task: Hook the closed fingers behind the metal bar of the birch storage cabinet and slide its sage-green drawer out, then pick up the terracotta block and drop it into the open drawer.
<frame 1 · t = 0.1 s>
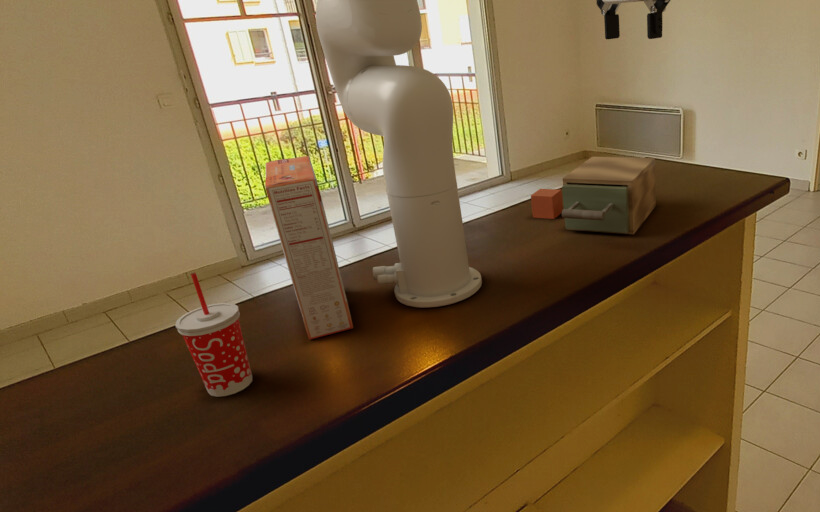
hand: (633, 38, 106), 31 cm above the worktop, tool pointing down, fingers open, 9 cm apart
cracker box: (326, 315, 85), on the worktop
block: (548, 214, 118), on the worktop
cabinet: (612, 217, 114), on the worktop
drawer: (602, 202, 108), point 5 cm above the worktop, slide at 0.5 cm
beverage cup: (231, 386, 70), on the worktop
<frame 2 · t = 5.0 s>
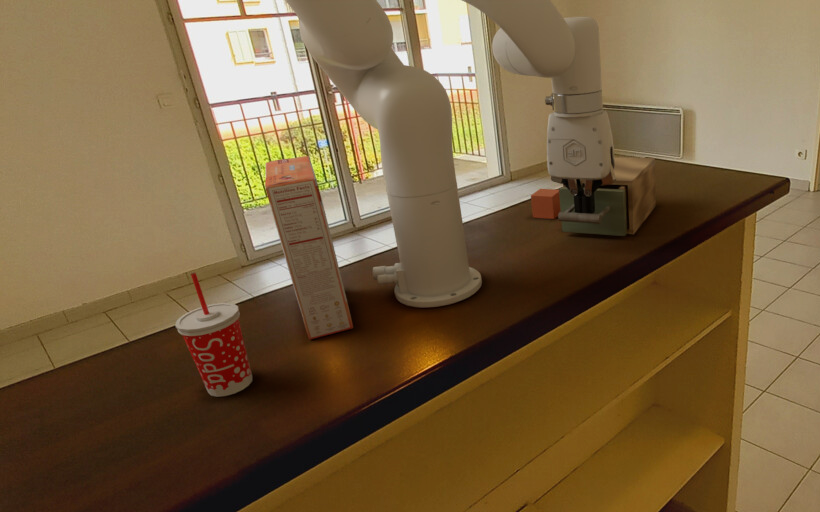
hand: (585, 216, 100), 5 cm above the worktop, tool pointing down, fingers closed
drawer: (599, 204, 107), point 5 cm above the worktop, slide at 2.1 cm
everything else where it was.
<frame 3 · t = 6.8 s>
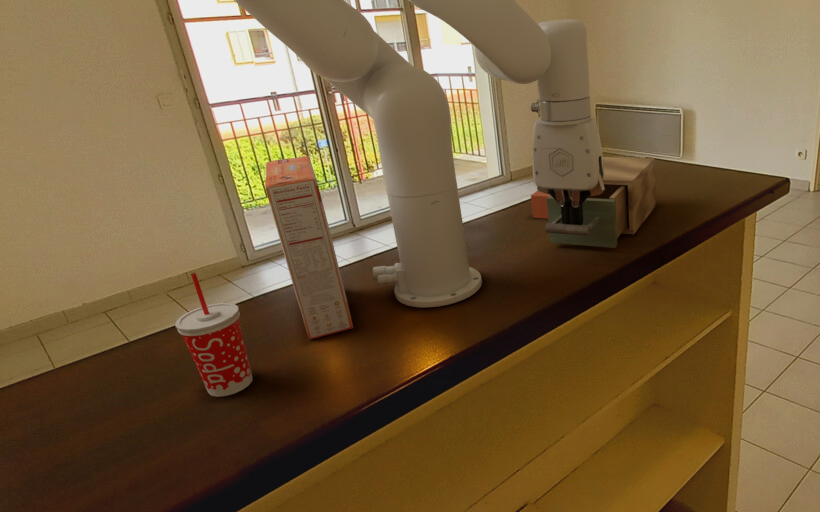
hand: (573, 228, 96), 5 cm above the worktop, tool pointing down, fingers closed
drawer: (589, 214, 102), point 5 cm above the worktop, slide at 7.4 cm, touching gripper
everything else where it was.
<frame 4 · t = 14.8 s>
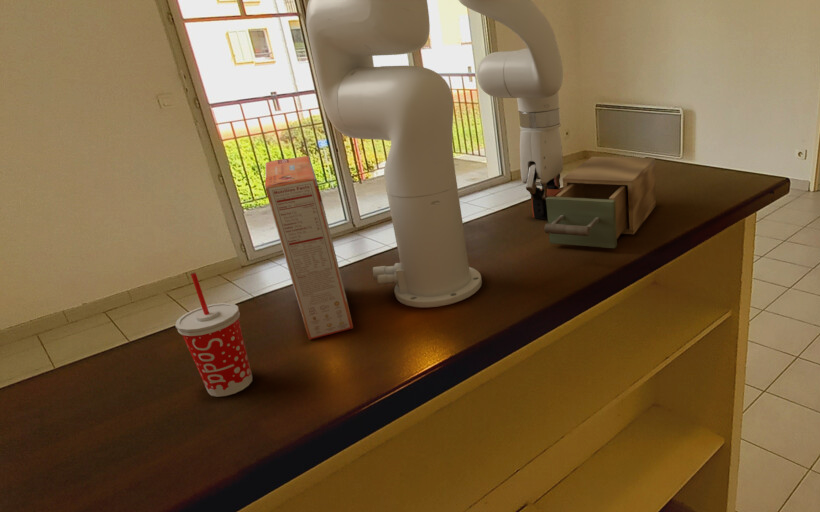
hand: (547, 212, 118), 0 cm above the worktop, tool pointing down, fingers closed on block, 4 cm apart
block: (548, 214, 118), on the worktop, touching gripper
drawer: (588, 215, 102), point 5 cm above the worktop, slide at 7.6 cm
everything else where it was.
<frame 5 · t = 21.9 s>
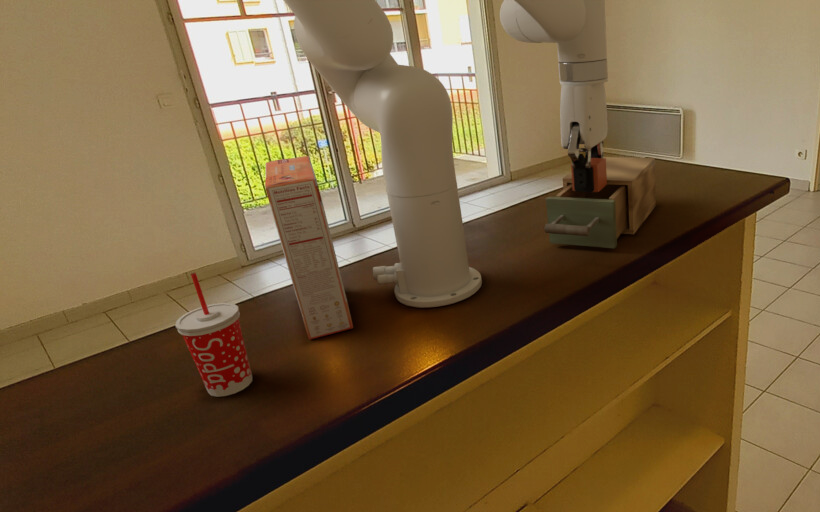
hand: (589, 185, 101), 10 cm above the worktop, tool pointing down, fingers closed on block, 4 cm apart
block: (590, 187, 101), point 9 cm above the worktop, touching gripper
everything else where it was.
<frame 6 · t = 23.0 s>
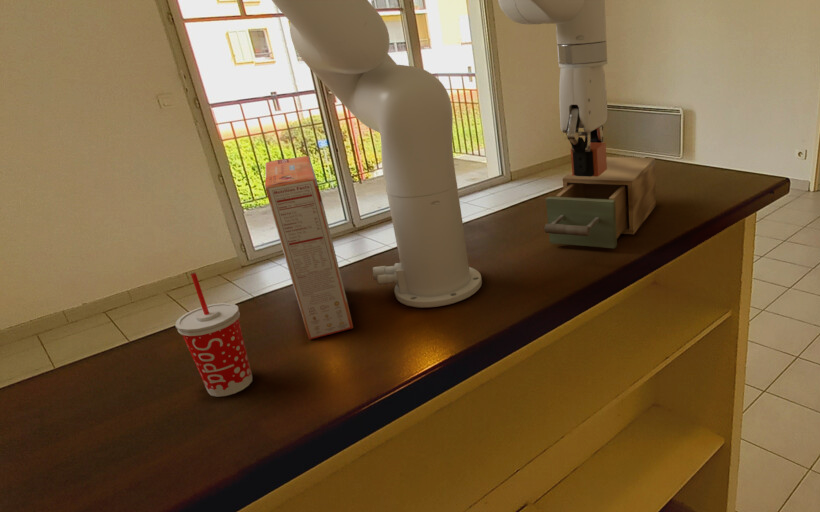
hand: (589, 170, 100), 12 cm above the worktop, tool pointing down, fingers closed on block, 4 cm apart
block: (589, 172, 100), point 12 cm above the worktop, touching gripper
everything else where it was.
when the fingers open (12 cm above the worktop, at t = 31.3 s): block drops 10 cm, resting on drawer.
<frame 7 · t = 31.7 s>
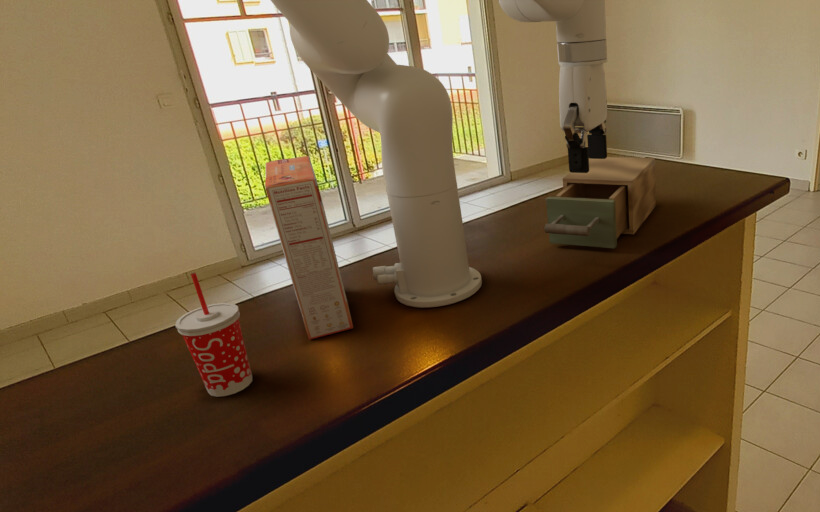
hand: (588, 164, 100), 13 cm above the worktop, tool pointing down, fingers open, 8 cm apart
block: (592, 227, 104), point 2 cm above the worktop, touching drawer
drawer: (588, 215, 102), point 5 cm above the worktop, slide at 7.6 cm, touching block
everything else where it was.
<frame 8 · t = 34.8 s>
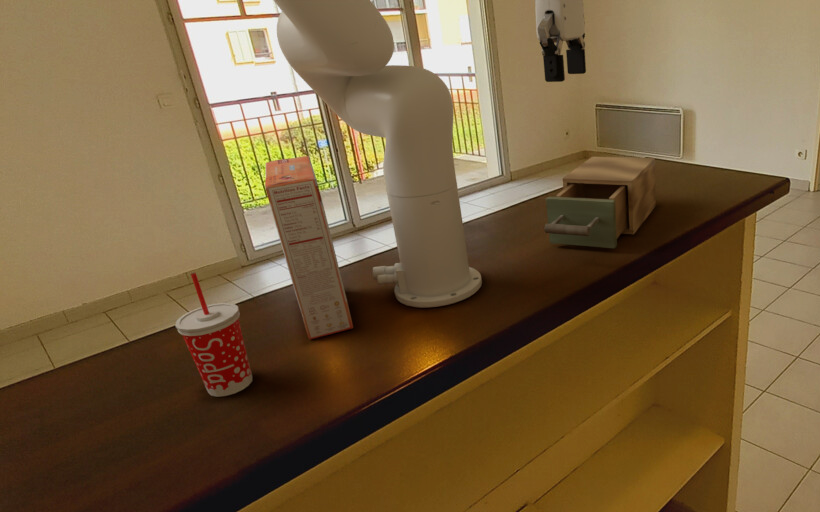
hand: (566, 77, 101), 26 cm above the worktop, tool pointing down, fingers open, 9 cm apart
nothing on the worktop moved.
at the end: drawer slide at 7.6 cm; block inside the target area in the drawer (0.9 cm from its centre), point 2.0 cm above the cabinet's base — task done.
